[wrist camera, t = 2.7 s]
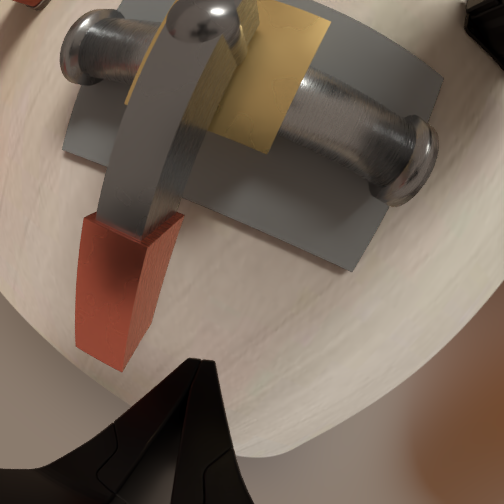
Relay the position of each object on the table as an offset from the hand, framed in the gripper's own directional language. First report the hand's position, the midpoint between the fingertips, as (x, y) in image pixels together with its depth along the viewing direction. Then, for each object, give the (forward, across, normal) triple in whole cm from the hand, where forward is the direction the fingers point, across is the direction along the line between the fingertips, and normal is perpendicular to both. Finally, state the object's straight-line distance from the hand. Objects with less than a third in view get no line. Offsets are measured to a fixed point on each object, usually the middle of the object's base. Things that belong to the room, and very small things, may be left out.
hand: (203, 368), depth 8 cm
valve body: (+11, 0, -10) cm, 15 cm away
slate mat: (+11, 0, -10) cm, 15 cm away
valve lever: (+4, +2, -5) cm, 7 cm away
